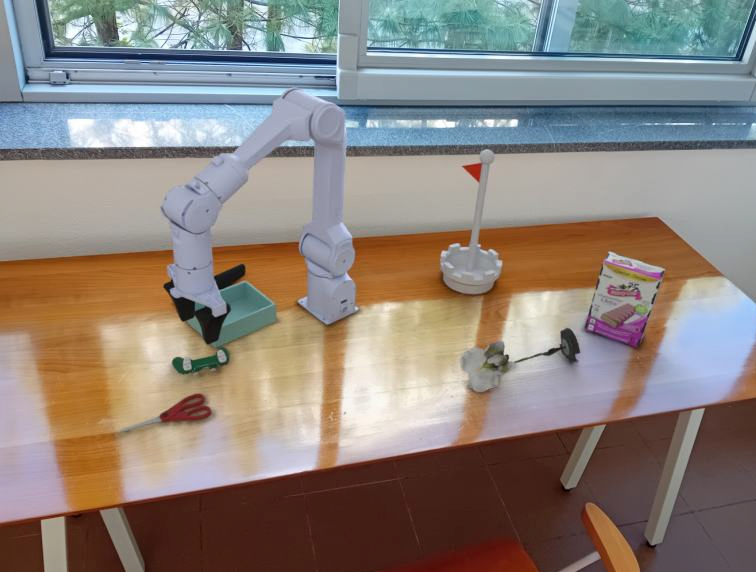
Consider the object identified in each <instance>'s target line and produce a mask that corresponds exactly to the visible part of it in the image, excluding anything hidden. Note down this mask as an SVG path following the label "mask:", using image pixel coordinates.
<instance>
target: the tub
mask: <svg viewBox="0 0 756 572" xmlns="http://www.w3.org/2000/svg"><path fill="white" fill-rule="evenodd" d="M219 292H220V295H221V297H222V299H223V300H224V301H226V302H227V303H228V304H229V305H230V306H231V311H230V312H229V314H228V315H227V317H226V318H225V320H224V322H223V325H222V328H221V332H220V336H219V339H218V341H216V342H214V343H211V344H210V345H211V346H212V347H214V348H215V349H218V348H220V347H222V346H223V345H225V344H228V343H231V342H233V341H234V340H235V341H236V340H237V339H240V338H242V337H244V336H246V335H249V334H250V333H253V332H256V331H257V330H259V329H263V328H264V327H267V326H269V325H271V324H274V323H277V304H276V303H275V302H274V301H273V300H272V299H270V298H269V297H268V296H267V295H265V294H264V293H263V292H261V291H260V290H259V289H257V288H256V287H255V286H254V285H252V284H251V282H249V281H248V280H245V279H244V280H243V281H240V282H238V283H235V284H231V285H230V286H228V287H226V288H224V289H222V290H219ZM201 308H205V305H202V304H200V303H197V302H195V311H196V310H199V309H201ZM185 322H186V323H187V324H188V325H189V326H190V327H191V328H193V329H194V331H196V332H197V333H198V334H199V335H200V336H201V337H203V335H202V330H201V327H200V324H199V322H198V320H197V318H196V317H195V316H194V318H192V319H189V320H187V321H185Z"/></svg>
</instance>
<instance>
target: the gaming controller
mask: <svg viewBox="0 0 756 572" xmlns="http://www.w3.org/2000/svg"><path fill="white" fill-rule="evenodd" d="M229 362H230V353H229V351H228V349H227V348H226V347H224V346H219V347H217V350H216V352H215V354H214V355H209V356H204V357H201V358H196V359H191V358H190V357H188V356H186V357H181V356H175V357H174V358H173V359H172V361H171V364H172V366H173V368H174V370H175V371H176V372H177V373H179V374H182V375H183V376H184V375H188V374H189V375H190V374H192V376H197V375H200V372H201V371H204V370H210V372H214V371H217V369H218V368H219V367H223V366H226V365H228V364H229Z"/></svg>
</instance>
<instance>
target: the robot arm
mask: <svg viewBox="0 0 756 572" xmlns="http://www.w3.org/2000/svg"><path fill="white" fill-rule="evenodd" d="M270 112H271V113H269V114H268V116H267V117H266V118H265V119H264V120H263V121H262V122H261V123H260V124H259V125H258V126H257V128H256V129H254V130H253V131H252V132H251V133H250V135H248V137H247V138H245V140H244V141H243V142H242V143H241V144H239V146H238V147H237V148H236V149H235V150H234V151H233V152H221V153H219V154H218V155H215V156H213V157H212V158H211V159H210V162H209V163H208V164H207V165H206V166H205V167H204V168H203V169H201V170H200V171H199V172H198V173H197V174H195V176H193V178H191V179H190V180H189V181H188V182H186V184H181V185H177V186H174V187H172V188H171V189H169V190H168V191H167V192H166V194H165V195H164V197H163V202H162V204H161V205H160V206H159V209H160V212H161V214H162V215H163V217H165V218H166V220H167V221H168V224H169V228H170V234H171V244H172V252H173V253H172V254H173V263H172V264H169V265H166V270H167V271H166V272H167V276H168V277H169V279H170V281H167V282H165V283H164V284H163V286H162V287H163V289H164V290H165V292H167V294H168V295H169V297H170V299H171V301H172V303H173V305H174V307H175V310H176V313H177V315H178V317H179V320H180V321H181V322H182V323H185V322H186V321H187V320H189V319H192V318H194V316H195V317H196V318H197V320H198V322H199V324H200V327H201V330H202V335H203V336H202V335H201V336H202V339H203V341H204V343H205V344H206V345H207V346H209V345H211V343H214V342H216V341H218V339H219V336H220V332H221V328H222V325H223V322H224V320H225V318H226V317H227V315H228V314H229V312H230V311H231V306H230V305H229V304H228V303H227V302H226V301H224V300H223V299H222V297H221V295H220V292H219V290H218V287H217V284H216V282H215V280H214V276H215V274H214V258H213V246H212V229H211V228H212V227H214V226H215V223H216V222H217V220H218V217H219V214H220V212H221V211H222V210H223V207H224V204H225V203H226V202H227V201H228V200H229V199H230V198H231V197H232V196H234V195H235V194H236V193H237V192H238V191H239V190H240V189H241V188H243V186H244V185H245V184H247V182H248V181H249V173H250V172H249V171H250V170H251V169H252V168H253V167H254V166H256V165H257V164H258V163H260V162H261V161H262V160H263V159H264V158H266V157H267V156H268V155H270V154H271V153H273V152H274V150H276V149H277V148H278V147H280V145H282V144H283V143H285V142H286V141H294V142H310V141H311V140H312V142H313V143H314V145H313V146H314V148H313V149H314V150H313V151H314V152H313V179H312V180H313V182H312V184H313V185H312V186H313V187H312V211H311V215H312V216H311V220H310V221H308V222H307V223H305V224H304V225H303V226H302V235H301V237H300V239H299V242H298V251H299V254H300V255H301V256H302V257H304V263H305V264H306V266H307V268H306V271H307V273H306V280H307V282H306V296H304V297H302V298H299V299H298V300H297V304H298V305H299V306H301V307H303V308H304V309H305V310H306V311H308V312H309V313H310V314H311V315H313V316H314V317H315V318H316V319H318V320H319V321H321V322H322V323H323V324H324V325H326V326H328V325H332V324H333V323H335V322H337V321H339V320H341V319H343V318H345V317H348V316H351V315H352V314H354V313H356V312H358V311H359V307H358V306H356V300H357V299H356V298H357V285H356V283H355V281H354V280H353V278H351V276H350V275H349V274H348V271H349V270H350V269H351V268H352V267H353V265H354V262H355V259H356V250H355V248H354V245H353V236H352V234H351V233H350V231H349V230H348V229H347V227H346V226H345V224H344V223H343V217H344V216H343V215H344V196H345V180H346V179H345V178H346V163H347V161H346V160H347V146H348V145H347V142H348V130H347V128H346V123H345V122H346V111H345V110H343V108H342V107H340V106H338V105H337V104H336V103H333V102H330V101H327V100H324V99H323V98H320V97H318V96H315V95H313V94H310V93H308V92H306V91H304V90H303V89H301V88H299V87H290V88H287V89H286V90H285V91H284V92H283V93H281V95H280V96H279V97H278V98H276V99H275V100H273V102H272V106H271V111H270ZM195 302H197V303H200V304H202V305H205V308H201V309H199V310H196V311H195Z"/></svg>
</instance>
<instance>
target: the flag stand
mask: <svg viewBox="0 0 756 572" xmlns="http://www.w3.org/2000/svg"><path fill="white" fill-rule="evenodd" d="M479 161H480V162H478V163H477V162H476V163H472V164H466V165H461V167H462V169H464V170H465V171H466V172H467V174H469V175H470V176H471V177H472V178H473V179H475V181H476V182H478V189H477V195H476V201H475V208H474V215H473V221H472V229H471V230H472V231H471V237H470V241H469V242H468V243H469V244H468V246H461V244H460V243H459V242H457V243H453V244H450V245H448V250H442V251H441V252H440V260H439V268H440V271H441V272H442V275H443V276H442V280H443V282H444V283H445V285H446V286H447V287H448V288H450V289H452V290H453V291H456V292H458V293H461V294H466V295H480V294H484V293H487V292H489V291H490V290H492V288H493V287H494V285H495V281H497V280H498V279H499V277H500V276H501V273H502V268H503V260H499V253H498V252H497V251H496V250H494V249H492V248H490V249H488V250H487V251H486V250H484V249H482V244H480V243H479V237H480V230H481V224H482V217H483V211H484V206H485V205H484V204H485V197H486V191H487V185H488V179H489V172H490V165H491V164H492V163H493V162H494V161H495V153H494V152H493V151H492V150H491V149H487V148H486V149H484V150H482V151H481V152H480V154H479Z"/></svg>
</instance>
